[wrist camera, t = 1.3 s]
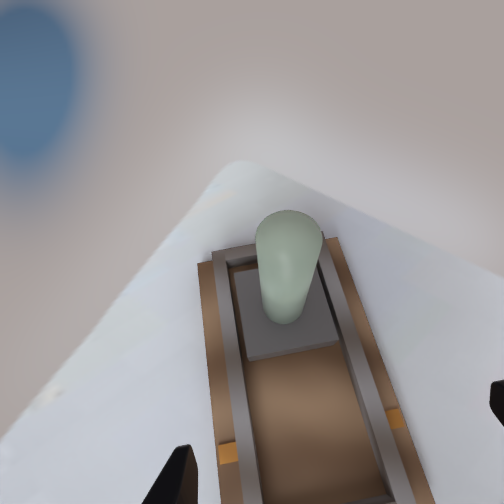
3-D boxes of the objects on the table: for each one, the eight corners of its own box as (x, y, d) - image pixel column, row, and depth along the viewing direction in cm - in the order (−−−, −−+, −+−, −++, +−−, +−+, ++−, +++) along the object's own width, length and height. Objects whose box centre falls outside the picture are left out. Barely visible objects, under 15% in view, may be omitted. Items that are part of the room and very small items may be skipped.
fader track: (426, 501, 18) (450, 515, 15) (228, 543, 17) (221, 564, 15) (334, 243, 26) (340, 227, 24) (200, 269, 26) (192, 255, 23)
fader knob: (333, 345, 21) (385, 290, 11) (249, 361, 21) (228, 321, 11) (310, 269, 24) (336, 171, 14) (236, 283, 23) (210, 195, 14)
